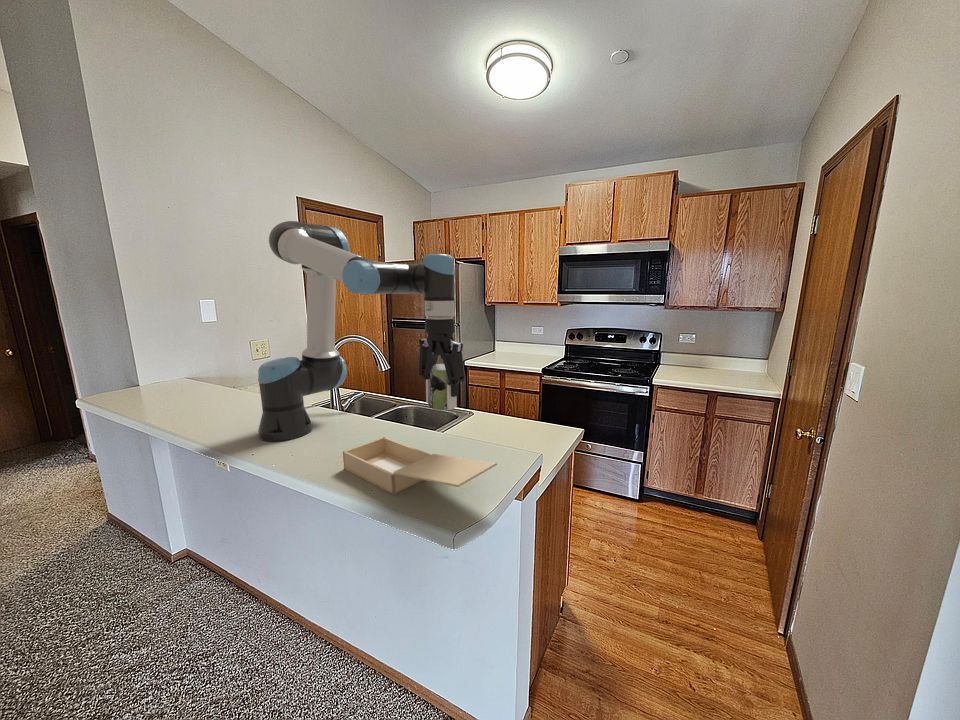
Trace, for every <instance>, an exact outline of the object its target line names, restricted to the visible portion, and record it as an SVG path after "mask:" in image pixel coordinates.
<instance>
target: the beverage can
mask: <svg viewBox="0 0 960 720" xmlns="http://www.w3.org/2000/svg"><path fill="white" fill-rule="evenodd" d="M447 383H449V379H448V376H447V372H446V369H445V365H444V363H436V364H435V365H433V368H432V369H431V371H430V388H429V404H428V407H430V408H431V409H432V410H434V411H438V412H443V411H447V410H448V409H447Z"/></svg>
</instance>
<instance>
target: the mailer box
mask: <svg viewBox="0 0 960 720" xmlns="http://www.w3.org/2000/svg"><path fill="white" fill-rule="evenodd" d="M430 455H432V454H430V453H429V452H425V451H422V450H420V449H418V448H415V447H412V446H409V445H407V444H404V443H402V442H399V441H396V440H394V439H391V438H388V437H386V436H383V437H380V438H378V439H377V438H376V439H374V440H372V441H369V442H365V443H363V444H360V445H358V446H357V445H356V446H354V447H352V448H349V449H346V450H343V451H342V459H343V469H344V470H345V471H347V472H349V473H351V474H353V475H355V476H356V477H359V478H360V479H362V480H365V481H366V482H367V483H370V484H372V485H374V486H375V487H377V488H379V489H381V490H383V491H385V492H387V493H389V494H390V495H393V496H395V495H397V494H399V493H401V492H403V491H405V490H406V489H409V488H410V487H413V486H415V485H417V484H419V483H421V482H423V481H424V480H422V479H417V478H412V477H408V476H403V475H398V474H394V471H397V470H399V469H401V468H403V467H405V466H408V465H410V464H412V463H414V462H417V461H419V460H421V459H423V458H426V457H428V456H430Z"/></svg>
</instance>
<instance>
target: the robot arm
mask: <svg viewBox="0 0 960 720" xmlns="http://www.w3.org/2000/svg"><path fill="white" fill-rule="evenodd" d="M268 244H269V248H270V251H272V253H273V254H274V255H275V256H276V257H277V258H278V259H281V260H282V261H283V262H286V263H288V264H292V265H301V270H303V271H304V273H306V348H305V349H304V350H303V351H302V352H301V359H300V358H298V357H296V356H287V357H284V358H283V357H282V358H281V357H280V358H279V357H278V358H275V359H272V360H269V361H266V362H264V363H262V364H261V365H260V366H259V367H258V369H257V370H258V378H257V381H258V385H259V393H260V401H261V407H262V413H261V418H260V422H259V425H258V430H257V431H258V438H259V439H260V438H261V439H262V440H261V439H260V440H261V441H265V440H267V441H266V442H279V441H280V442H281V441H287V440H293V439H296V438H300V437H303V436H305V435H307V434H309V433H310V432H311V431H312V429H313V423H312V420H311V417H310V415H309V414H308V412H307V410H306V408H305V402H304V397H305V396H310V395H315V394H318V393H323V392H329V391H331V390H334V389H337V388H339V387H340V386H341V385H343V384H344V382H345V380H346V377H347V371H348V370H347V364H345V363H346V360H345V359H344V358H343V357H342V356H341V355H340V352H339V350H338V349H336V345H335V344H336V299H337V298H336V296H337V295H336V294H337V293H336V290H337V288H336V287H337V281H339V282H341V283H343V285H344V287H345V288H346V289H347V291H349V292H350V293H352V294H358V295H362V296H363V295H364V296H367V295H387V294H389V295H391V294H392V295H393V294H394V295H398V294H399V295H407V294H408V295H411V294H414V295H417V294H421V295H423V299H424V317H426V318H425V320H424V332H425V334H427V337H426V338H420V339H419V340H418V345H419V363H418V375H419V376H422V377H423V379H424V390H425V396H426V397H425V398H426V399H425V402H426V403H425V404H427V405H429V388H430V371H431V369H432V368H433V365H435V364H437V363H438V358H439V357H440V359H442V361H443V364H444V365H445V369H446V372H447V376H448V379H449V383H447V410H450V411H451V410H453V409H456V408H457V406H458V405H457V404H458V403H457V402H458V399H457V398H458V396H459V384H460V383H463V382H465V371H464V360H463V347H464V344H463V342H456V341H455V339H454V337H453V335H454V333H455V331H456V329H455V327H456V326H455V325H456V322H455V319H454V318H453V317H455V315H456V314H455V311H456V310H455V309H456V307H455V275H456V272H455V265H454V263H455V262H454V257H453V256H452V255H450V254H445V253H429V254H425V255H424V256H423V257H422V258H423V259H422V260H423V261H422V263H414V264H413V263H410V264H409V263H408V264H407V263H397V262H395V263H394V262H382V261H375V260H371V259H369V258H366V257H363V256H360V255H358V254H356V253H353V252H350V245H349V241H348V239H347V237H346V236H345V234H344V233H343V231H342V230H340V229H338V228H336V227H331V226H327V225H324V224H323V225H322V224H315V223H307V222H303V221H302V222H300V221H298V220H297V221H296V220H286V221H283V222H279V223H278V224H276V225H275V226H274V227H273V228H272V229H271V230H270V232H269V236H268ZM308 432H309V433H308Z"/></svg>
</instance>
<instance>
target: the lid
mask: <svg viewBox="0 0 960 720" xmlns="http://www.w3.org/2000/svg"><path fill="white" fill-rule="evenodd" d="M496 466H498V463H497V462H493V461H487V460H478V459H472V458H464V457H457V456H452V455H451V456H450V455H443V454H435V453H433V454H431V455H430V456H428V457H426V458H423V459H421V460H419V461H417V462H414V463H412V464H410V465H408V466H405V467H403V468H401V469H399V470H397V471H394V474H398V475H403V476H408V477H412V478H417V479H422V480H423V481H428V482H431V483H438V484H442V485H446V486H451V487H456V488H459V487H461V486H463V485H465V484H467V483H468V482H470V481H472V480H474V479H475V478H477V477H479V476H481V475H482V474H484V473H485V472H487V471H490V470H491V469H493V468H494V467H496Z"/></svg>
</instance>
